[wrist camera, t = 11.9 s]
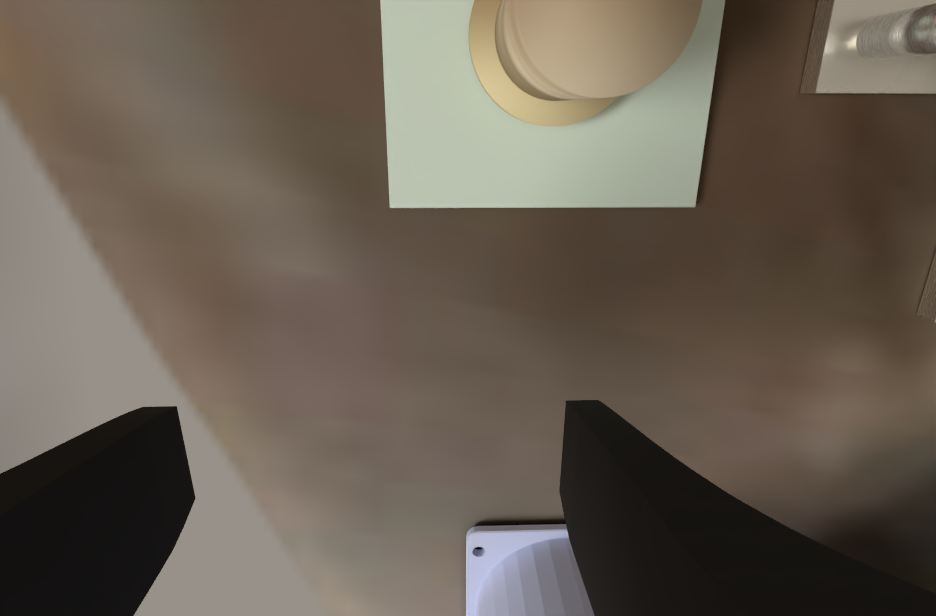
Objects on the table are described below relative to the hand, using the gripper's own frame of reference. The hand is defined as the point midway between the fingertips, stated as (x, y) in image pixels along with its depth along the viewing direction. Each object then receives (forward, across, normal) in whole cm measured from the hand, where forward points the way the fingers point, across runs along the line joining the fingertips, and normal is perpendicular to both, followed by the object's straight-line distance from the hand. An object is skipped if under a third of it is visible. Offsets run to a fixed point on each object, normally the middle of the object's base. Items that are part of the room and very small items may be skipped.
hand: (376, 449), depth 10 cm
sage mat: (+9, -4, -8) cm, 13 cm away
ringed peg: (+9, -4, -8) cm, 13 cm away
